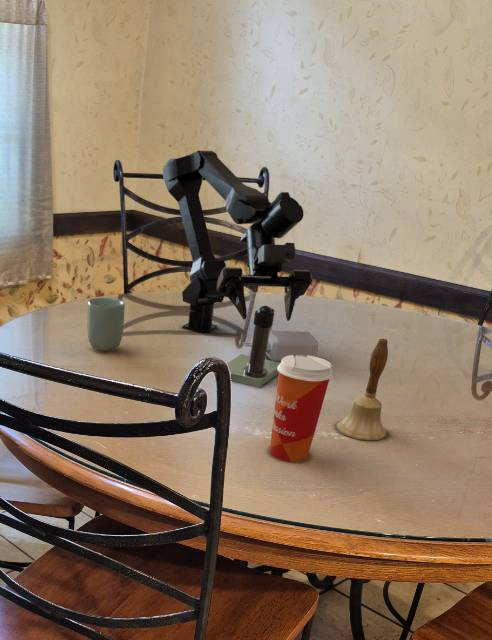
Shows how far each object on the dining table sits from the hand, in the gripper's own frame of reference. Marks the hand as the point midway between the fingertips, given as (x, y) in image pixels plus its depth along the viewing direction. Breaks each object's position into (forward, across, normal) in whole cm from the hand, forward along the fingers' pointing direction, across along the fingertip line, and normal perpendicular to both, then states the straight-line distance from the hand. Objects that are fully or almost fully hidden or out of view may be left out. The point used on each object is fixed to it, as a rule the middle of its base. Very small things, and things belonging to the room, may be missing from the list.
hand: (267, 319), depth 145 cm
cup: (0, -32, +14) cm, 35 cm away
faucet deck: (+10, -3, +4) cm, 11 cm away
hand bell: (+31, +9, -17) cm, 36 cm away
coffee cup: (+37, -7, -23) cm, 44 cm away
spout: (+5, -2, -4) cm, 7 cm away
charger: (+2, +6, +12) cm, 13 cm away
